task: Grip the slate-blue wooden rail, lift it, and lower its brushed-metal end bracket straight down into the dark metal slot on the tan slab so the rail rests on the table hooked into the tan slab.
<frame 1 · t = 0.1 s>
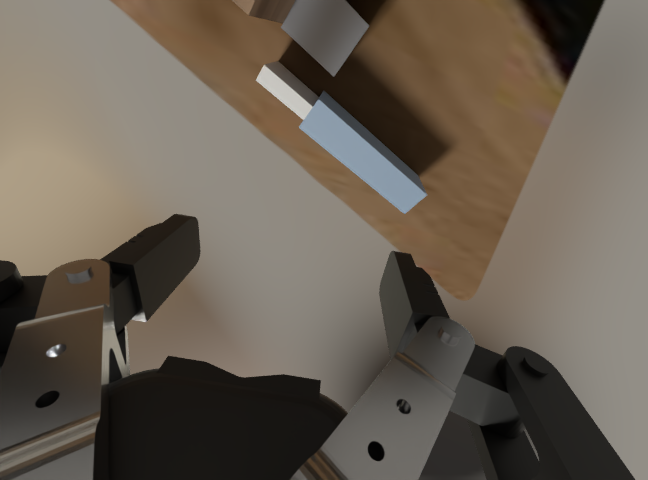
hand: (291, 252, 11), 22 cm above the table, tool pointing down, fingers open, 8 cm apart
rail: (364, 146, 30), on the table
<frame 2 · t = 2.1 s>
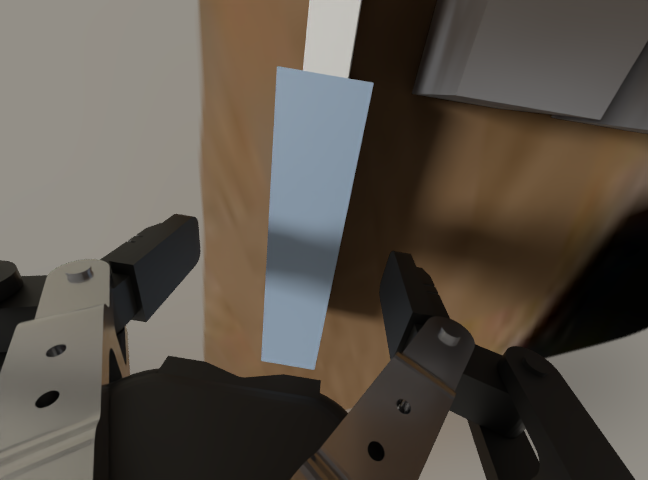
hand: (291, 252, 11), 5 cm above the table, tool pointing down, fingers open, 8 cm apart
rail: (314, 215, 16), on the table
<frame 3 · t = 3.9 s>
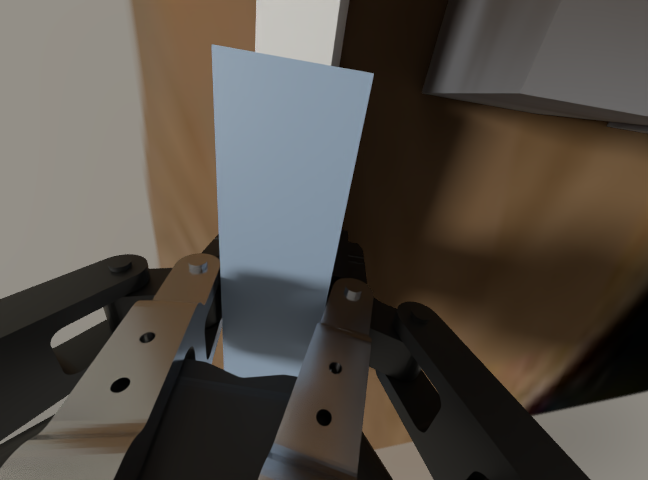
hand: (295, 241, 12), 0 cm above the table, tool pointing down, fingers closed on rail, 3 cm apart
rail: (296, 247, 13), on the table, touching gripper
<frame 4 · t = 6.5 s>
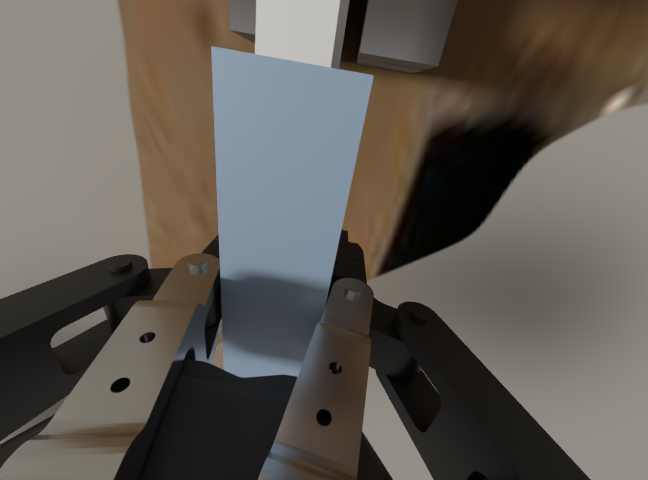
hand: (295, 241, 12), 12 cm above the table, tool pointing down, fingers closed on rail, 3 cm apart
rail: (296, 248, 13), point 12 cm above the table, touching gripper
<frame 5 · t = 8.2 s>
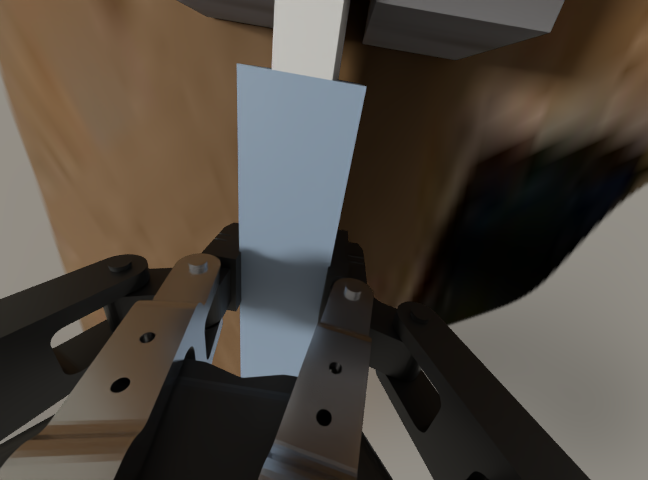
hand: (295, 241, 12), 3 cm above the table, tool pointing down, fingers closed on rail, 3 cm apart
rail: (301, 232, 14), point 2 cm above the table, touching gripper
when the fingers open (2 cm above the table, at t = 9.4 s): rail stays where it is, on the table.
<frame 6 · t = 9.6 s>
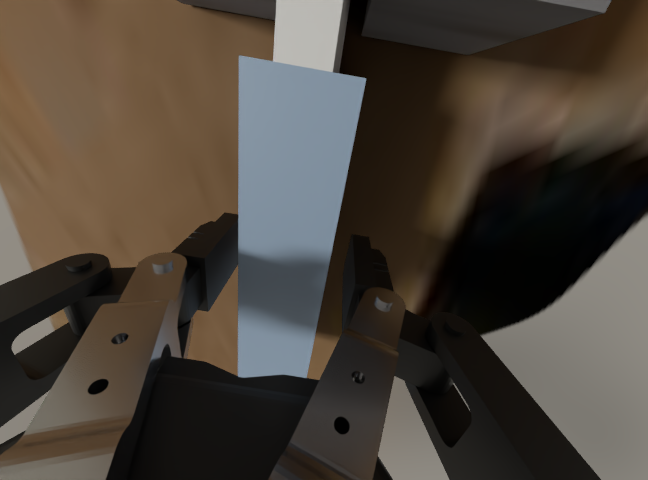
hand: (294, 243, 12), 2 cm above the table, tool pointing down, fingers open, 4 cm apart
rail: (300, 233, 14), on the table
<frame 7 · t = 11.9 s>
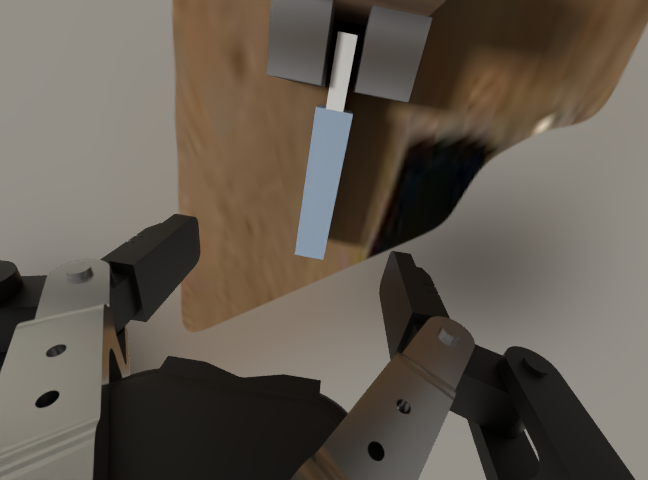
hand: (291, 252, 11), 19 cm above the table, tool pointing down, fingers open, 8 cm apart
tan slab: (350, 22, 23), on the table
rail: (323, 178, 29), on the table
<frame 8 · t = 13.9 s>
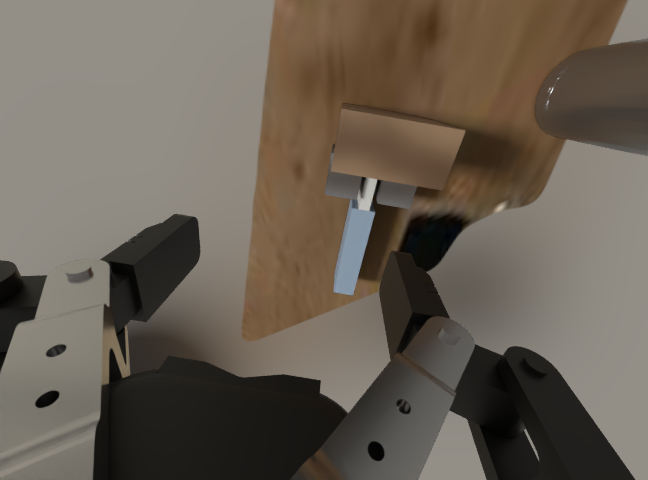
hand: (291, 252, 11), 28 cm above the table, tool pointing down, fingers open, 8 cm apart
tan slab: (372, 151, 36), on the table
rail: (351, 238, 43), on the table
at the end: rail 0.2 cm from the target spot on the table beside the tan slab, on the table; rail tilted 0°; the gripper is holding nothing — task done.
